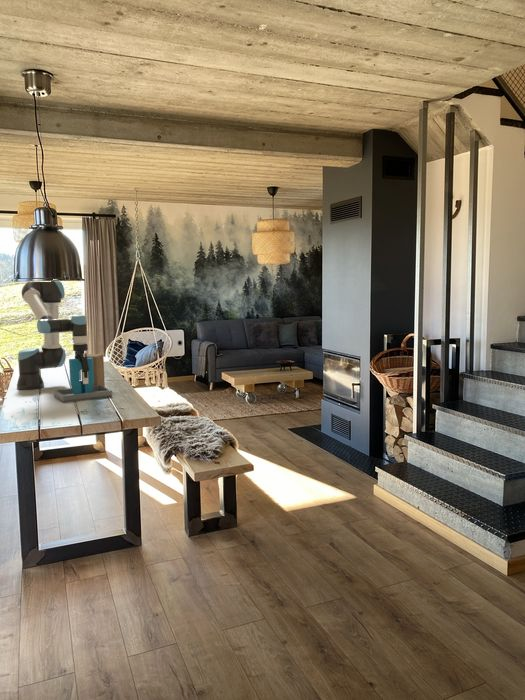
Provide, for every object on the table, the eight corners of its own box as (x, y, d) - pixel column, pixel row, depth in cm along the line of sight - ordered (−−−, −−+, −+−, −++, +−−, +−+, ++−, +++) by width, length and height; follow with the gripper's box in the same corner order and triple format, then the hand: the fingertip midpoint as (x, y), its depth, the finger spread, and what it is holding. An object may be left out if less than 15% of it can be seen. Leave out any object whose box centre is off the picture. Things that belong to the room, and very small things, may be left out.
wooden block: (97, 390, 325) (95, 356, 323) (81, 389, 327) (79, 356, 325) (105, 387, 335) (103, 354, 332) (90, 386, 337) (88, 353, 334)
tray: (54, 396, 309) (53, 390, 309) (100, 390, 323) (100, 385, 323) (63, 402, 292) (63, 396, 292) (112, 396, 307) (111, 390, 306)
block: (93, 392, 313) (91, 357, 310) (94, 394, 308) (93, 358, 306) (70, 395, 307) (68, 359, 305) (72, 396, 303) (70, 360, 300)
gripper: (67, 342, 312) (69, 379, 315) (79, 346, 292) (81, 386, 294) (80, 341, 317) (82, 378, 319) (93, 345, 296) (95, 384, 299)
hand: (82, 381), depth 307 cm, fingers open, 13 cm apart
